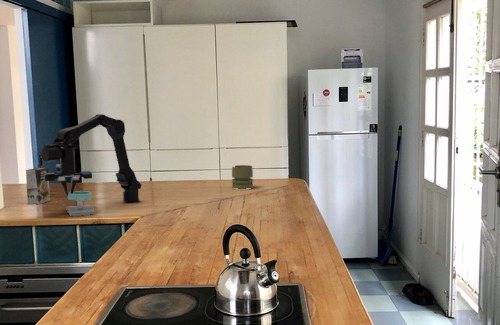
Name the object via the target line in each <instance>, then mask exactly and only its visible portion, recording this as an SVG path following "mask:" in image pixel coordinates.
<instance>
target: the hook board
mask: <svg viewBox="0 0 500 325" xmlns="http://www.w3.org/2000/svg"><path fill="white" fill-rule="evenodd" d="M65 211H66V212H67V213H69V214H68V215H70V216H73V217H82V216H81V215H84V216H91V215H90V214H95V215H96V210H95V209H94V207H93V206H92V205H91V204H84V200H79V201H76V205H72V206H66V210H65ZM70 216H69V217H70Z"/></svg>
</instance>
